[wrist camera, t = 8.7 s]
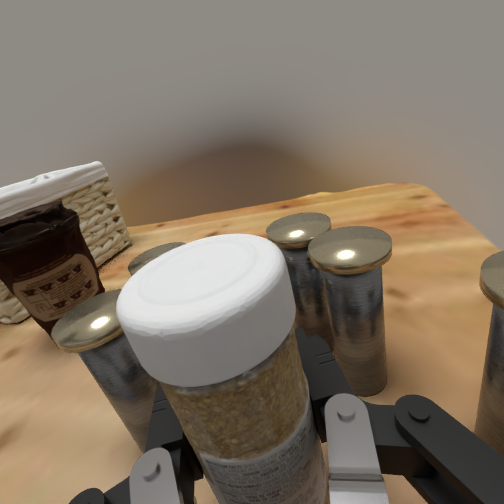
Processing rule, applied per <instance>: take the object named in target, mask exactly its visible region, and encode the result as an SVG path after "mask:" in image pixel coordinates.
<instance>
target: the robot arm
mask: <svg viewBox="0 0 504 504" xmlns="http://www.w3.org/2000/svg"><path fill="white" fill-rule="evenodd" d="M295 337H296V340H297V345H298V351H299V354H300V359H301V364H302V368H303V371H304V374H305V376H306V379H307V382H308V387H309V393H310V398H311V403H312V408H313V413H314V417H315V422H316V427H317V431H318V434H319V437H320V440H321V443H324V442H327V447H328V460H329V493H330V504H389V500H388V495H387V491H386V487H385V483H384V479H383V477H382V475H381V474H392V475H403V476H404V477H405V478H406V479H407V481H408V482H409V483H410V484H411V485H412V486H413V487H414V488H415V489H416V491H417V492H418V493H419V494H420V495H421V496H422V497H423V498H424V499H425V501H426V502H427V503H428V504H504V457H503V456H502V455H500V454H499V453H498V452H497V451H495V450H494V449H493V448H491V447H490V446H489V445H488V444H486V443H485V442H484V441H482V440H481V439H480V438H479V437H477V436H476V435H475V434H474V433H472V432H471V431H470V430H468V429H467V428H466V427H465V426H463V425H462V424H461V423H460V422H458V421H457V420H456V419H454V418H453V417H452V416H451V415H449V414H448V413H447V412H446V411H444V410H443V409H442V408H440V407H439V406H438V405H437V404H435V403H434V402H433V401H431V400H430V399H428V398H426V397H423V396H419V395H406V396H403V397H401V398H400V399H398V400H397V402H396V404H395V405H375V404H370V403H368V402H365V401H363V400H362V399H360V398H359V397H358V396H356V394H355V393H354V392H353V390H352V389H351V387H350V385H349V383H348V381H347V379H346V378H345V376H344V374H343V372H342V370H341V368H340V366H339V365H338V363H337V361H336V359H335V357H334V355H333V354H332V352H331V350H330V348H329V346H328V344H327V342H326V341H325V340H323V339H322V338H321V337H319V336H318V335H314V336H311V337H308V338H307V336H306V334H305V332H304V330H303V328H302V326H301V327H297V328H295ZM199 479H203V469H202V466H201V464H200V462H199V460H198V458H197V456H196V454H195V452H194V450H193V447H192V446H191V444H190V443H189V441H188V439H187V436H186V435H185V433H184V431H183V429H182V426H181V424H180V421H179V419H178V417H177V415H176V414H175V412H174V409H173V408H172V406H171V404H170V403H169V401H168V399H167V396H166V395H165V393H164V391H163V388H162V387H161V385H160V384H159V386H158V387H157V389H156V391H155V397H154V405H153V408H152V414H151V419H150V425H149V430H148V436H147V442H146V447H145V452H144V454H143V455H142V456H141V457H140V458H139V459H138V460H137V462H136V463H135V465H134V466H133V468H132V471H131V474H130V476H129V477H128V478H126V479H125V480H124V481H122V482H121V483H119V484H117V485H116V486H114V487H113V488H111V489H110V490H108V491H107V492H105V493H104V494H103V492H102V491H101V490H100V489H98V488H90V489H87V490H84V491H83V492H81V493H79V494H78V495H77V496H76V497H74V498H73V499H72V500H71V501H70V503H69V504H197V501H196V498H195V496H194V481H196V480H199Z"/></svg>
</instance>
